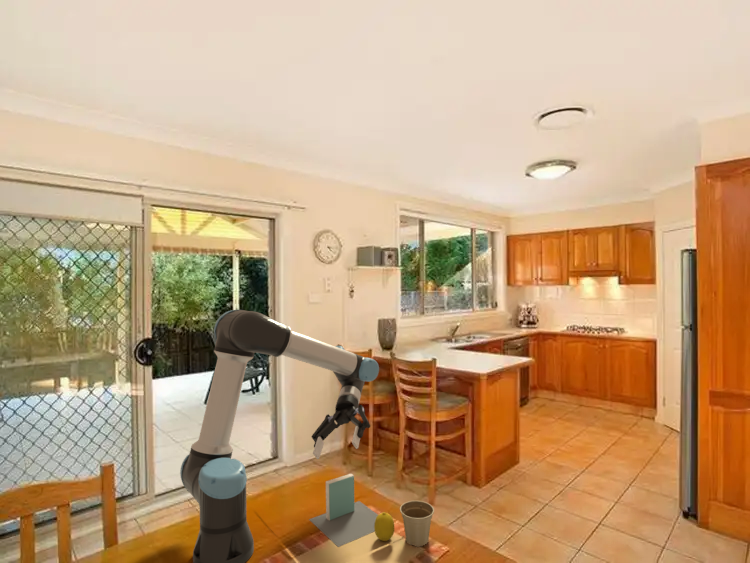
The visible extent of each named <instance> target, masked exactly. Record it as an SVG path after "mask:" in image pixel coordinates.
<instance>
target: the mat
mask: <svg viewBox="0 0 750 563" xmlns="http://www.w3.org/2000/svg"><path fill="white" fill-rule="evenodd" d="M354 508H355V511H353V512H350V513H348V514H345V515H342V516H340V517H337V518H335V519H332V520H328V519H327V518H326V512H325V513H322V514H320V515H317V516H315V517H312V518H309V519H308V521H310V522H311V523H312V524H313V525H314V526H315V527H317V529H319V531H321V532H322V533H323V534H324V535H325V536H326V537H327V538H328V539H329V540H330V541H331V542H332V543H333V544H334V545H335V546H336V547H337V548H340V547H342V546H344V545H346V544H349V543H351V542H353V541H356V540H358V539H361V538H363V537H365V536H368V535H370V534H372V533H375V529H374V525H375V520H376V517H377V516H378V515H379V514H378V513H377V512H375V511H374V510H372V509H371V508H370V507H368V506H367V505H366V504H364V503H363V502H362V501H360V500H358V501H356V502H355V501H354Z"/></svg>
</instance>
